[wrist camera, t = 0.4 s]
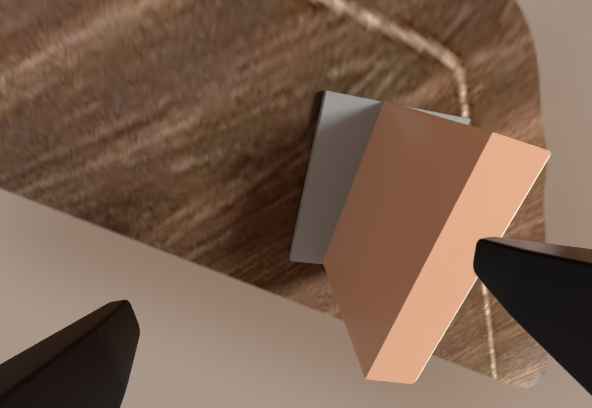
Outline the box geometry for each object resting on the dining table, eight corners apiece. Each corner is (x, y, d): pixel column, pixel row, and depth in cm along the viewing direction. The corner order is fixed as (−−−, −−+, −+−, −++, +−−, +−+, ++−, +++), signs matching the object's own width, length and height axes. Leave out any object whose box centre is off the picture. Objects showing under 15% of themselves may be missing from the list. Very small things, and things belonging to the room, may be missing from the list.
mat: (289, 256, 22) (290, 261, 22) (324, 90, 18) (326, 90, 18) (407, 267, 24) (411, 271, 24) (464, 117, 20) (470, 119, 19)
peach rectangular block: (322, 262, 22) (365, 379, 14) (384, 100, 18) (492, 132, 10) (356, 268, 23) (416, 384, 15) (423, 113, 19) (555, 152, 11)
